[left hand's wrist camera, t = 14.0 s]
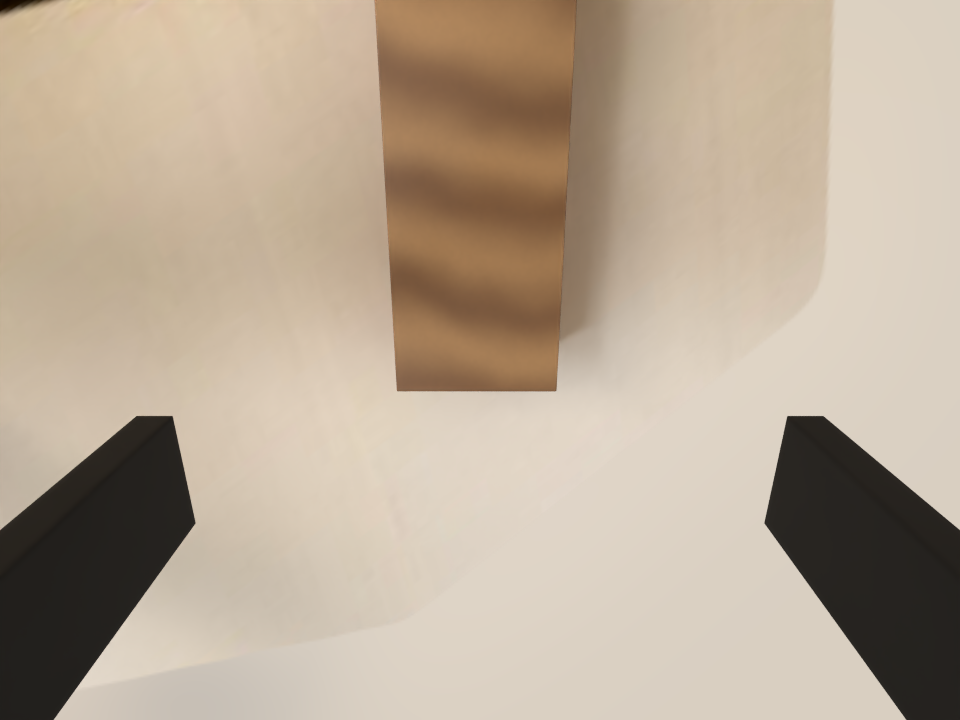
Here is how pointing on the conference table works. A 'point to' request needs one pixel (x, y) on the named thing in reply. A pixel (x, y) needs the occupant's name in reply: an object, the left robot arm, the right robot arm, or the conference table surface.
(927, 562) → the left robot arm
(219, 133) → the conference table surface
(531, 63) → the striped wooden beam
